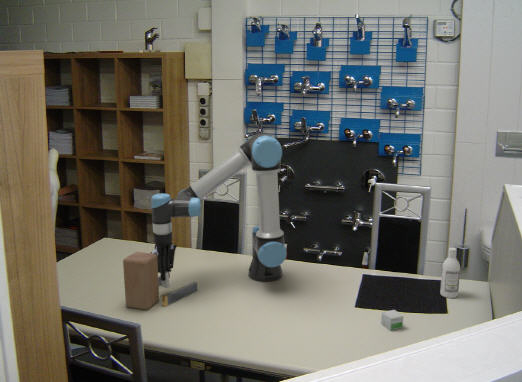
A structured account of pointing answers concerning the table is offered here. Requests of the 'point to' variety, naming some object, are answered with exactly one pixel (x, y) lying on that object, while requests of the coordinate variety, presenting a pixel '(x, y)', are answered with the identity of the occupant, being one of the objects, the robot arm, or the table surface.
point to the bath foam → (450, 275)
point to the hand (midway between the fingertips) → (165, 286)
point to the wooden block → (141, 280)
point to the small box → (392, 320)
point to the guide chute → (177, 293)
